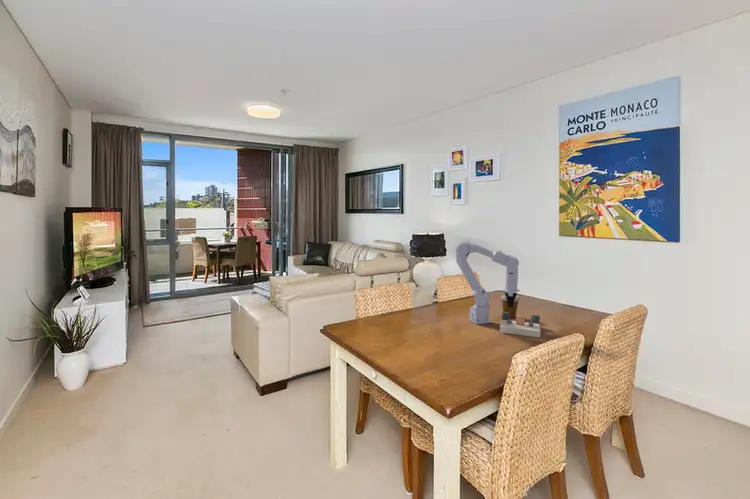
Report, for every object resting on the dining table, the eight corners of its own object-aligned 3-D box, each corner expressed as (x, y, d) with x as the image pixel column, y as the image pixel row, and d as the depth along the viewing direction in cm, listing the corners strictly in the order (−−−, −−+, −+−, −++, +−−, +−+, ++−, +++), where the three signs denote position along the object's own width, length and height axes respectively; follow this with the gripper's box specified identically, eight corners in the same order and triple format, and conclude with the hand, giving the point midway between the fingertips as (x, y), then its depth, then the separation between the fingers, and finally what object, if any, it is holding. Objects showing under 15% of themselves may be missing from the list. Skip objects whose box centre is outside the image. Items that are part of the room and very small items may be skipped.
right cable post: (534, 328, 186) (535, 317, 185) (528, 326, 189) (529, 315, 189) (540, 328, 187) (541, 316, 186) (535, 325, 191) (535, 314, 190)
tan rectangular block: (524, 325, 181) (524, 317, 180) (515, 324, 183) (516, 316, 182) (524, 324, 182) (524, 316, 181) (515, 323, 184) (516, 315, 183)
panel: (540, 337, 173) (540, 328, 173) (499, 332, 180) (500, 323, 179) (539, 329, 184) (539, 320, 184) (501, 325, 191) (501, 316, 190)
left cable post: (505, 325, 191) (505, 314, 190) (500, 323, 195) (500, 312, 194) (511, 324, 192) (512, 313, 191) (506, 322, 196) (507, 311, 195)
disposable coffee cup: (521, 319, 201) (522, 298, 200) (503, 319, 201) (504, 297, 200) (514, 314, 210) (515, 294, 209) (498, 314, 211) (499, 293, 209)
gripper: (519, 284, 180) (518, 311, 181) (520, 279, 193) (518, 304, 195) (504, 283, 182) (503, 309, 184) (506, 278, 196) (504, 302, 197)
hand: (510, 306), depth 189 cm, fingers closed
